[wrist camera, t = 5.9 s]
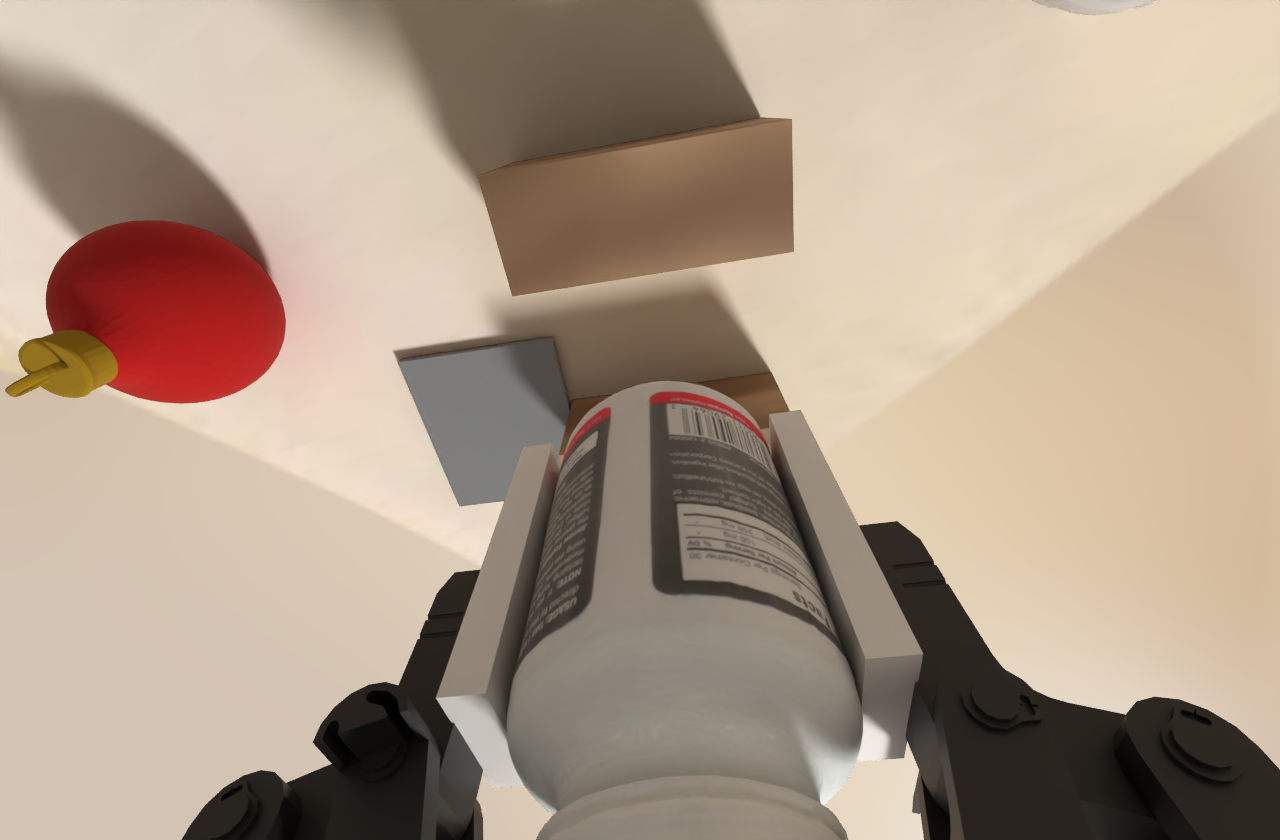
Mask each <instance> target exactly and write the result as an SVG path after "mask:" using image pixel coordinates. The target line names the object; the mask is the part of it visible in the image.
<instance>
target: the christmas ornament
mask: <svg viewBox="0 0 1280 840" xmlns="http://www.w3.org/2000/svg"><path fill="white" fill-rule="evenodd" d="M46 310H47V315H48V319H49V322H50V325H51V328H52V330H53V334H51V335H48V336H45V337H43V338H36V339H32V340H29V341H27V342H25V343H24V345H23V346H22V347H21V349H20V350H19V361H20V363H21V365H22V367H23V368H24V370H25V371H26V372H27V374H28V375H27V376H25V377H23V378H22V379H20V380H18V381H16V382H15V383H13V384H11V385H10V386H8V387H7V388H6V389H5V391H6V392H7V394H9V395H10V396H12V397H17V396H20V395H23V394H25V393H27V392H29V391H32V390H34V389H36V388H38V387H40V386H41V387H42V388H44V389H46V390H47V391H49V392H51V393H53V394H56V395H59V396H63V397H73V398H78V397H84V396H86V395H88V394H89V393H90V392H91V391H92V390H95V389H97V388H99V387H101V386H103V385H105V384H106V385H108V386H110V387H112V388H114V389H116V390H119V391H121V392H124V393H126V394H129V395H132V396H135V397H138V398H142V399H147V400H151V401H158V402H165V403H198V402H205V401H210V400H215V399H219V398H222V397H225V396H228V395H231V394H234V393H236V392H238V391H240V390H242V389H244V388H246V387H247V386H249V385H250V384H252V383H253V382H255V381H256V380H258V379H259V378H260V377H261V376H262V375H263V374H264V373H265V372H266V371H267V370H268V369H269V368H270V367H271V365H272V364H273V362H274V361H275V359H276V358H277V356H278V354H279V352H280V349H281V347H282V344H283V341H284V336H285V324H286V319H285V312H284V307H283V304H282V300H281V297H280V295H279V293H278V291H277V288H276V287H275V285H274V283H273V281H272V280H271V278H270V277H269V276H268V274H267V273H266V272H265V271H264V269H263V268H262V267H261V266H260V265H259V264H258V263H257V262H256V261H255V260H254V259H253V258H252V257H251V256H249V255H248V254H247V253H246V252H245V251H243V250H242V249H240V248H239V247H237V246H236V245H234V244H233V243H231V242H229V241H227V240H226V239H224V238H222V237H220V236H218V235H215V234H213V233H211V232H208V231H206V230H203V229H200V228H196V227H193V226H190V225H185V224H180V223H175V222H167V221H132V222H125V223H120V224H116V225H112V226H108V227H105V228H102V229H100V230H98V231H95V232H93V233H91V234H89V235H87V236H85V237H83V238H82V239H80V240H79V241H78V242H76V243H75V244H74V245H73V246H71V247H70V248H69V249H68V250H67V251H66V252H65V253H64V254H63V256H62V257H61V258H60V259H59V261H58V262H57V263H56V265H55V267H54V269H53V271H52V273H51V276H50V279H49V281H48V285H47V292H46Z"/></svg>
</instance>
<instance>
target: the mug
mask: <svg viewBox="0 0 1280 840" xmlns="http://www.w3.org/2000/svg"><path fill="white" fill-rule="evenodd" d="M1033 1H1035V2H1037V3H1039V4H1041V5H1044V6H1047V7H1052V8H1055V7H1056V8H1059V9H1062V10H1064V11H1067V12H1070V13H1075V14H1081V15H1102V14H1114V13H1119V12H1122V11H1125V10H1128V9H1131V8H1141V7H1145V6H1148V5H1151V4H1153V3H1155V2H1157V1H1159V0H1033Z"/></svg>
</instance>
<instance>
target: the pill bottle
mask: <svg viewBox="0 0 1280 840" xmlns="http://www.w3.org/2000/svg"><path fill="white" fill-rule="evenodd" d="M862 737H863V715H862V709H861V702H860V698H859V695H858V692H857V689H856V684H855V677H854V674H853V672H852V669H851V666H850V664H849V661H848V659H847V656H846V654H845V652H844V650H843V648H842V645H841V643H840V640H839V637H838V634H837V632H836V629H835V626H834V624H833V622H832V619H831V616H830V614H829V611H828V609H827V606H826V603H825V600H824V597H823V595H822V592H821V590H820V586H819V582H818V579H817V577H816V574H815V572H814V569H813V567H812V564H811V561H810V559H809V556H808V553H807V550H806V547H805V544H804V541H803V539H802V537H801V534H800V531H799V528H798V525H797V523H796V520H795V517H794V515H793V512H792V509H791V506H790V504H789V501H788V498H787V495H786V493H785V490H784V487H783V485H782V482H781V479H780V476H779V473H778V470H777V468H776V466H775V463H774V461H773V459H772V456H771V454H770V451H769V447H768V444H767V442H766V439H765V437H764V435H763V433H762V431H761V429H760V427H759V426H758V424H757V423H756V421H755V420H754V419H753V417H752V416H751V415H750V414H749V413H748V411H747V410H745V409H744V408H743V407H742V406H741V405H739V404H738V403H737V402H735V401H734V400H732V399H731V398H729V397H727V396H725V395H724V394H722V393H720V392H717V391H715V390H713V389H710V388H707V387H705V386H701V385H697V384H692V383H687V382H678V381H657V382H650V383H643V384H639V385H636V386H633V387H630V388H626V389H624V390H622V391H620V392H617V393H615V394H613V395H612V396H610V397H608V398H607V399H605V400H603V401H602V402H600V403H598V404H597V405H596V406H595V407H593V408H592V409H591V410H590V411H589V412H588V413H587V414H586V415H585V416H584V417H583V418H582V420H581V421H580V422H579V424H578V425H577V427H576V428H575V429H574V431H573V432H572V434H571V436H570V439H569V441H568V444H567V447H566V450H565V453H564V457H563V461H562V465H561V469H560V472H559V477H558V482H557V486H556V489H555V495H554V499H553V504H552V507H551V511H550V516H549V520H548V525H547V531H546V536H545V542H544V547H543V551H542V556H541V561H540V567H539V571H538V575H537V578H536V584H535V588H534V593H533V597H532V601H531V605H530V609H529V613H528V617H527V622H526V626H525V631H524V635H523V639H522V643H521V647H520V651H519V655H518V658H517V663H516V668H515V674H514V677H513V681H512V685H511V692H510V700H509V706H508V713H507V741H508V748H509V753H510V757H511V759H512V762H513V765H514V768H515V770H516V772H517V774H518V776H519V778H520V779H521V781H522V783H523V785H524V786H525V787H526V789H527V790H528V791H529V793H530V794H531V795H532V796H533V797H534V798H535V800H536V801H537V802H538V803H539V804H541V805H542V806H543V807H544V808H545V809H546V810H547V811H548V812H550V813H551V814H553V816H552V817H551V818H550V820H549V821H548V822H547V823H546V824H545V825H544V826H543V828H542V830H541V831H540V832H539V834H538V836H537V839H536V840H848V837H847V834H846V831H845V829H844V828H843V827H842V825H841V824H840V822H839V820H838V819H837V817H836V816H835V815H834V814H833V812H831V811H830V810H829V809H828V808H826V807H825V806H824V805H825V804H826V803H827V802H828V801H829V800H830V799H831V798H832V797H833V796H835V794H836V793H837V792H838V791H839V790H840V789H841V787H842V786H843V785H844V783H845V782H846V780H847V779H848V777H849V776H850V774H851V772H852V770H853V768H854V766H855V763H856V761H857V758H858V755H859V752H860V748H861V742H862Z"/></svg>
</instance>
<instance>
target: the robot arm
mask: <svg viewBox="0 0 1280 840" xmlns="http://www.w3.org/2000/svg"><path fill="white" fill-rule="evenodd" d="M769 428H770V452H771V456H772V459H773V461H774V463H775V466H776V468H777V470H778V473H779V476H780V479H781V482H782V485H783V487H784V490H785V493H786V495H787V498H788V501H789V504H790V506H791V509H792V512H793V515H794V517H795V520H796V523H797V525H798V528H799V531H800V534H801V537H802V539H803V541H804V544H805V547H806V550H807V553H808V556H809V559H810V561H811V564H812V567H813V569H814V572H815V574H816V577H817V579H818V582H819V586H820V590H821V592H822V595H823V597H824V600H825V603H826V606H827V609H828V611H829V614H830V616H831V619H832V622H833V624H834V626H835V629H836V632H837V634H838V637H839V640H840V643H841V645H842V648H843V650H844V652H845V654H846V656H847V659H848V661H849V664H850V666H851V669H852V672H853V674H854V677H855V684H856V689H857V692H858V695H859V698H860V702H861V709H862V715H863V737H862V742H861V748H860V752H859V755H858V758H857V761H869V760H870V761H871V760H883V759H897V758H904V755H905V750H906V744H907V741H908V743H909V746H910V749H911V751H912V753H913V756H914V758H915V761H916V763H917V766H918V768H919V774H918V778H917V783H916V788H915V792H914V797H913V809H912V812H913V813H918V814H920V812H921V819H922V827H923V834H924V840H1280V770H1279V768H1278V767H1277V766H1276V765H1275V764H1274V763H1273V762H1272V761H1271V760H1270V758H1269V757H1268V756H1267V755H1266V754H1265V753H1264V752H1263V751H1262V750H1261V749H1260V748H1259V747H1258V746H1257V745H1256V744H1255V743H1254V742H1253V741H1251V740H1250V739H1249V738H1248V737H1247V736H1246V735H1245V734H1243V733H1242V732H1241V731H1240V730H1239V729H1238V728H1237V727H1236V726H1234V725H1232V724H1231V723H1229V722H1227V721H1226V720H1224V719H1222V718H1221V717H1219V716H1217V715H1216V714H1214V713H1212V712H1210V711H1209V710H1207V709H1204V708H1201V707H1198V706H1196V705H1193V704H1190V703H1187V702H1184V701H1182V700H1179V699H1170V698H1161V697H1152V698H1149V699H1145V700H1141V701H1137V702H1136V703H1135V704H1134V705H1133V707H1132V708H1131V709H1130V710H1129V711H1128V713H1127V714H1126V715H1124V714H1120V713H1115V712H1110V711H1105V710H1101V709H1096V708H1091V707H1086V706H1081V705H1076V704H1071V703H1067V702H1063V701H1060V700H1056V699H1053V698H1050V697H1047V696H1045V695H1043V694H1041V693H1039V692H1036V691H1034V690H1033V689H1032V688H1031V687H1030V686H1029V685H1028V684H1026V682H1024V681H1023V680H1022V679H1020V678H1019V677H1017V676H1015V675H1013V674H1012V673H1010V672H1008V671H1006V670H1005V669H1004V668H1003V667H1002V666H1001V665H1000V664H999V662H998V661H997V660H996V658H995V657H994V656H993V655H992V653H991V652H990V650H989V648H988V647H987V645H986V644H985V642H984V640H983V639H982V637H981V636H980V634H979V632H978V631H977V629H976V628H975V626H974V624H973V623H972V621H971V620H970V618H969V616H968V615H967V614H966V612H965V610H964V609H963V607H962V605H961V604H960V602H959V601H958V599H957V597H956V596H955V594H954V593H953V591H952V589H951V588H950V586H949V585H948V584H946V582H945V578H944V577H943V575H942V574H941V572H940V570H939V569H938V567H937V566H936V565H934V561H933V559H932V557H931V556H930V554H929V553H928V551H927V549H926V548H925V546H924V545H923V543H922V542H921V540H920V539H919V538H918V537H917V536H915V535H914V534H913V533H912V532H910V531H909V530H908V529H906V528H905V527H904V526H902V525H901V524H900V523H899V522H897V521H895V522H888V523H878V524H869V525H860V526H859V525H858V523H857V521H856V519H855V518H854V515H853V513H852V511H851V509H850V507H849V506H848V503H847V501H846V499H845V497H844V496H843V493H842V491H841V490H840V487H839V485H838V483H837V481H836V480H835V478H834V476H833V474H832V472H831V470H830V468H829V466H828V464H827V462H826V460H825V458H824V456H823V454H822V452H821V450H820V448H819V446H818V444H817V442H816V440H815V438H814V436H813V434H812V432H811V430H810V428H809V426H808V424H807V422H806V420H805V418H804V416H803V414H802V412H801V410H797V411H789V412H782V413H774V414H769ZM559 472H560V467H559V463H558V460H557V457H556V453H555V450H554V447H553V443H549V444H541V445H534V446H526V447H523V449H522V452H521V455H520V458H519V461H518V464H517V467H516V469H515V472H514V475H513V478H512V481H511V484H510V487H509V490H508V492H507V495H506V498H505V501H504V504H503V507H502V510H501V513H500V515H499V518H498V521H497V524H496V527H495V530H494V533H493V536H492V538H491V541H490V544H489V547H488V550H487V553H486V556H485V558H484V561H483V564H482V567H481V570H474V571H464V572H456V573H454V574H453V575H452V576H451V578H450V579H449V580H448V581H447V582H446V584H445V585H444V586H443V587H442V588H441V589H440V590H439V592H438V593H437V595H436V597H435V600H434V602H433V604H432V607H431V609H430V611H429V614H428V620H426V621H425V623H424V626H423V628H422V631H421V633H420V639H418V640H417V642H416V645H415V647H414V650H413V652H412V655H411V657H410V659H409V661H408V664H407V666H406V669H405V671H404V673H403V676H402V679H401V681H400V683H399V685H394V684H391V683H387V682H383V683H377V684H371V685H368V686H366V687H364V688H362V689H360V690H357V691H356V692H354V693H351V694H350V695H349V696H348V697H346V698H345V699H344V700H343V701H341V702H340V703H339V704H338V705H337V706H336V707H334V709H333V710H332V711H331V712H330V714H329V715H328V716H327V717H326V719H325V720H324V721H323V722H322V724H321V725H320V728H319V730H318V732H317V734H316V736H315V739H314V741H313V743H314V744H315V745H316V747H317V748H318V749H319V750H320V751H321V752H322V753H323V754H324V755H325V757H326V758H327V759H328V760H329V761H330V762H331V763H332V764H331V765H328V766H326V767H323V768H321V769H319V770H316V771H314V772H311V773H309V774H307V775H304V776H302V777H299V778H297V779H295V780H292V781H290V782H288V783H285V782H284V781H283V780H282V779H281V778H280V777H279V776H278V775H277V774H276V773H275V772H270V771H262V770H260V771H257V772H254V773H251V774H248V775H244V776H242V777H241V778H239V779H237V780H236V781H234V782H233V783H231V784H229V785H228V786H226V787H224V788H223V789H222V790H221V791H220V792H219V793H218V794H217V795H216V796H215V797H213V798H212V799H211V800H210V801H209V802H208V803H207V804H206V805H205V806H204V808H203V809H202V810H201V812H200V813H199V814H198V816H197V817H196V819H195V820H194V821H193V822H192V824H191V825H190V827H189V828H188V830H187V832H186V833H185V835H184V837H183V838H182V840H483V817H482V812H481V807H480V804H479V803H478V801H477V800H476V797H477V793H478V789H479V785H480V781H481V777H482V773H483V774H484V776H485V778H486V779H487V781H488V782H489V784H490V786H491V787H492V788H503V787H518V786H524V785H523V783H522V781H521V779H520V778H519V776H518V774H517V772H516V770H515V768H514V765H513V762H512V759H511V757H510V753H509V748H508V741H507V713H508V706H509V700H510V692H511V685H512V681H513V677H514V674H515V668H516V663H517V658H518V655H519V651H520V647H521V643H522V639H523V635H524V631H525V626H526V622H527V617H528V613H529V609H530V605H531V601H532V597H533V593H534V588H535V584H536V578H537V575H538V571H539V567H540V561H541V556H542V551H543V547H544V542H545V536H546V531H547V525H548V520H549V516H550V511H551V507H552V504H553V499H554V495H555V489H556V486H557V482H558V477H559Z"/></svg>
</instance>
